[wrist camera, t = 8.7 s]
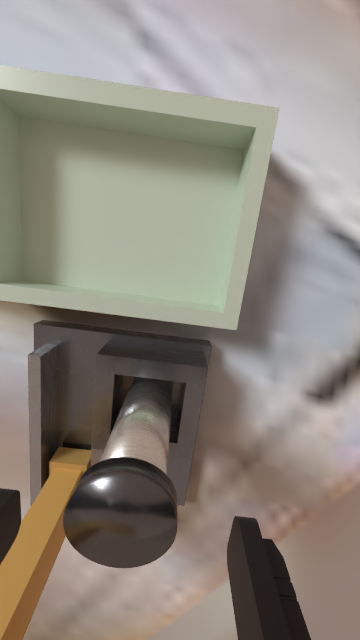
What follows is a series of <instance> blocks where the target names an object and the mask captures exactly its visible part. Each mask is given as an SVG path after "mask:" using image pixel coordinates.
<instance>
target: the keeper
mask: <svg viewBox="0 0 360 640" xmlns="http://www.w3.org/2000/svg"><path fill="white" fill-rule="evenodd" d="M90 466H91V450H84V449H75V448H66V447H59V448H58V449H57V451H56V452H55V454H54V455H53V457H52V459H51V460H50V462H49V478H48V480H47V481H46V483H45V484H44V486H43V488H42V489H41V491H40V493H39V494H38V496H37V498H36V499H35V501H34V502H33V504H32V506H31V507H30V509H29V511H28V512H27V514H26V516H25V517H24V519H23V520H22V522H21V525H20V529H19V532H18V535H17V537H16V539H15V541H14V543H13V545H12V546H11V548H10V550H9V551H8V553H7V555H6V556H5V558H4V560H3V561H2V563H1V565H0V640H22V639H23V637H24V634H25V632H26V629H27V627H28V625H29V622H30V620H31V617H32V615H33V613H34V610H35V608H36V606H37V603H38V601H39V598H40V596H41V594H42V591H43V589H44V586H45V584H46V582H47V579H48V577H49V575H50V572H51V570H52V567H53V565H54V563H55V560H56V558H57V555H58V553H59V551H60V548H61V546H62V544H63V541H64V539H65V536H66V534H65V532H64V527H63V514H64V511H65V508H66V506H67V504H68V502H69V499H70V497H71V495H72V493H73V491H74V489H75V487H76V485H77V483H78V480H79V479H80V477H81V476H82V474H83V473H84V472H85V471H86V470H87V469H88V468H90Z"/></svg>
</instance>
